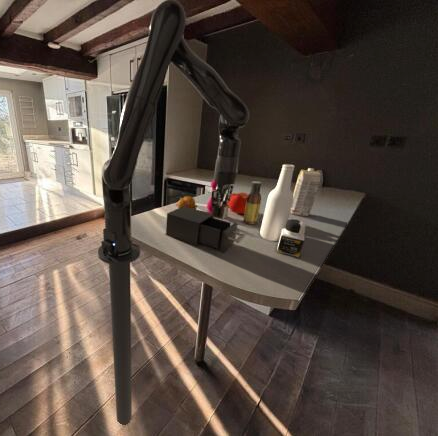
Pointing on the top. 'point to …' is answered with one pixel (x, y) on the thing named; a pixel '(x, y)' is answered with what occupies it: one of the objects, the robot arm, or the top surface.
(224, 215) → the block
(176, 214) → the cabinet
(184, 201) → the orange rounded lump
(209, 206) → the pepper mill
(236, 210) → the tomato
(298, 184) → the juice carton
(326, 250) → the top surface
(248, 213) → the sauce bottle
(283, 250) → the medicine bottle
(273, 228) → the alcohol
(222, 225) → the drawer
